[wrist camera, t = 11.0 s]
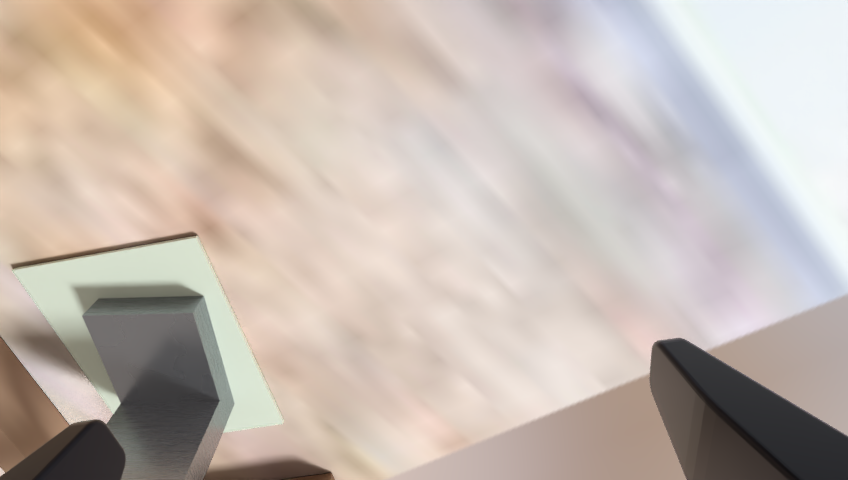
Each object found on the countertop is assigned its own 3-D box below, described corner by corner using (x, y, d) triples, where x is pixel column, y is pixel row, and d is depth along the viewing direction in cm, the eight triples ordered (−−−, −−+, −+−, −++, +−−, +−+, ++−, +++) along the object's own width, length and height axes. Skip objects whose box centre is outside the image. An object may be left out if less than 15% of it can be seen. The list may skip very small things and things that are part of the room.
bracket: (234, 404, 24) (184, 524, 19) (143, 406, 24) (67, 527, 19) (204, 295, 21) (133, 404, 16) (98, 298, 21) (-7, 408, 16)
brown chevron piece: (-129, 222, 19) (-199, 254, 17) (197, 160, 18) (167, 186, 16) (116, 519, 29) (91, 565, 27) (338, 489, 28) (332, 533, 26)
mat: (15, 267, 20) (11, 270, 20) (197, 235, 20) (195, 237, 20) (137, 442, 26) (135, 445, 25) (284, 420, 25) (283, 423, 25)
